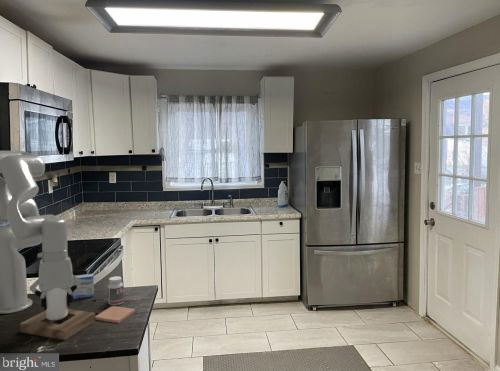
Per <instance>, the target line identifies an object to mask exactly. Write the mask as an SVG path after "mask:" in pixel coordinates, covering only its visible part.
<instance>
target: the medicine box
mask: <svg viewBox="0 0 500 371" xmlns="http://www.w3.org/2000/svg"><path fill="white" fill-rule="evenodd" d="M75 276H76V277H77V278H79V279H80V280H81V282H82V283H81V284H80V285H79V286H78V287H77V289H76V290H75V291H74V292H73V293H72V296H73V298H72V299H73V300H79V298H80V299H86V297H87V298H92V296H93V297H95V284H94V281H95V279H94V277H95V276H94V273H87V274H79V275H75ZM75 283H76V282H75V281H74V280H73V285H74V284H75ZM73 285H72V286H73Z"/></svg>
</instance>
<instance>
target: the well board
mask: <svg viewBox="0 0 500 371" xmlns="http://www.w3.org/2000/svg"><path fill="white" fill-rule="evenodd" d="M67 312H68V314H67V316H66V317H65V318H63V319H60V320H54V321H52V320H48V319H47V317H46V310H43V311H42V312H40V313H38V314H36V315H34V316H32V317H31V318H28V319H26V320H25V321H22V322H21V323H20V324H19V327H20V329H19V330H20V333H23V334H29V335H35V336H40V337H45V338H46V337H47V338H51V339H56V340H63V341H66V340H68V339H69V338H71V337H72V336H74V335H76V334H77V333H79V332H80V331H82V330H83V329H85V328H86V327H87V328H88V326H90V325H92V324H93V323H94V322H96V320H95V316H96V312H92V311H91V312H90V311H84V310H78V309H77V310H76V309H70V308H67ZM57 321H61V322H62V321H63V322H62V323H60V324H57V323H55V322H57Z"/></svg>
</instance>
